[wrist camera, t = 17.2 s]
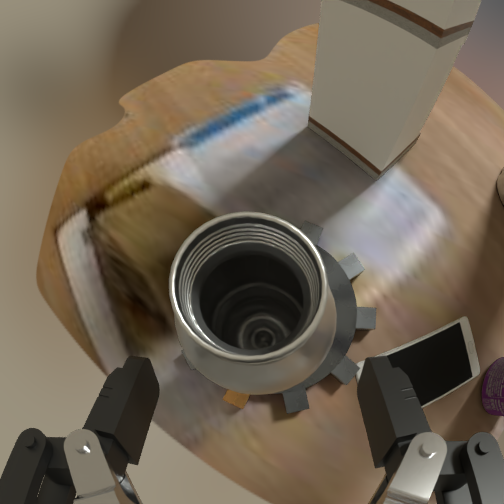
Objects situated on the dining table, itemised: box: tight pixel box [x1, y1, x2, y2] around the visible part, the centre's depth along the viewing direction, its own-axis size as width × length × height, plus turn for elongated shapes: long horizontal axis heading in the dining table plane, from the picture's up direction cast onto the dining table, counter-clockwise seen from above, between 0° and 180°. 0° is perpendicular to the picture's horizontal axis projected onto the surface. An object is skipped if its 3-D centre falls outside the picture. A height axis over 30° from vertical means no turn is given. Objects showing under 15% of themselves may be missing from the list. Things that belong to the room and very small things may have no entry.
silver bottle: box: [169, 211, 337, 395], centre depth 16 cm, size 6×7×20 cm
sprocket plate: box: [181, 221, 376, 414], centre depth 26 cm, size 19×18×4 cm
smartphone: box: [355, 316, 480, 408], centre depth 25 cm, size 8×1×15 cm
